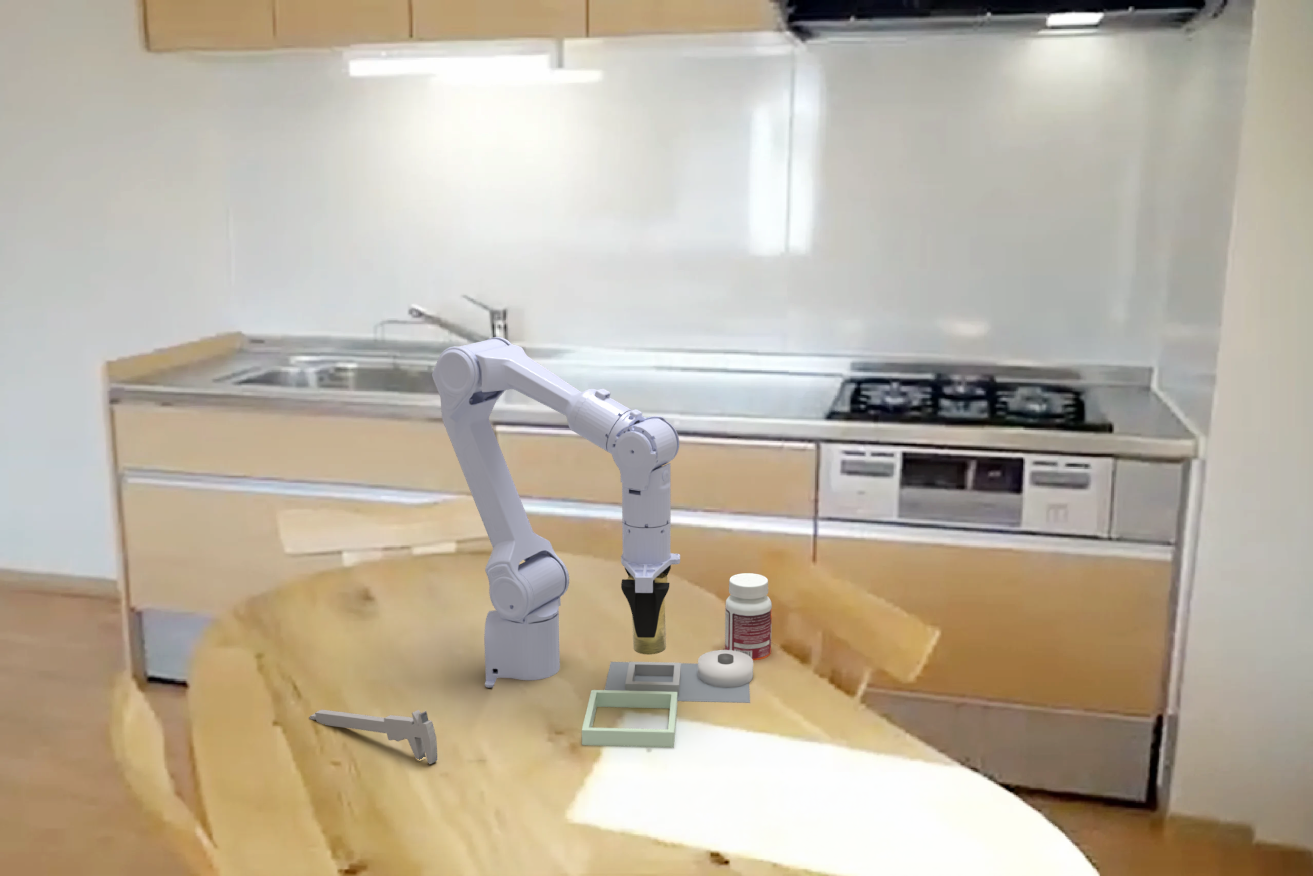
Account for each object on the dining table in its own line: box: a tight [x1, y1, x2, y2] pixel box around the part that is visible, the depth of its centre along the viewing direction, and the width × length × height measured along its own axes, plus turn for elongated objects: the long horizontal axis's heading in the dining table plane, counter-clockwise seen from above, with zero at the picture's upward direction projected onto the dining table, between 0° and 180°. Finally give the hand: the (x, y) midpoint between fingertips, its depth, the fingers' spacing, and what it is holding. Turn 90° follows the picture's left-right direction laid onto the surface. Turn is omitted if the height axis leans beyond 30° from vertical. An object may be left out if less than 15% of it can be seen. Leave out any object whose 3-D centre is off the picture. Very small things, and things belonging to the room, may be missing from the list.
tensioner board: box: [604, 649, 754, 704], centre depth 155 cm, size 18×11×4 cm, turn 87°
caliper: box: [308, 709, 438, 765], centre depth 142 cm, size 20×1×6 cm, turn 56°
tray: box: [581, 689, 678, 749], centre depth 144 cm, size 10×10×3 cm
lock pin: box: [627, 573, 669, 656], centre depth 148 cm, size 5×5×9 cm
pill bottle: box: [724, 572, 773, 661], centre depth 163 cm, size 6×6×11 cm
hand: (646, 628), depth 149 cm, fingers closed on lock pin, 4 cm apart
